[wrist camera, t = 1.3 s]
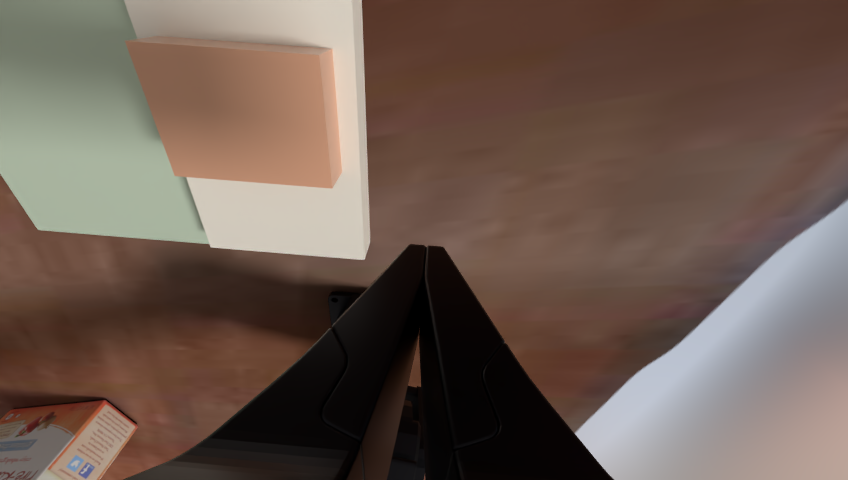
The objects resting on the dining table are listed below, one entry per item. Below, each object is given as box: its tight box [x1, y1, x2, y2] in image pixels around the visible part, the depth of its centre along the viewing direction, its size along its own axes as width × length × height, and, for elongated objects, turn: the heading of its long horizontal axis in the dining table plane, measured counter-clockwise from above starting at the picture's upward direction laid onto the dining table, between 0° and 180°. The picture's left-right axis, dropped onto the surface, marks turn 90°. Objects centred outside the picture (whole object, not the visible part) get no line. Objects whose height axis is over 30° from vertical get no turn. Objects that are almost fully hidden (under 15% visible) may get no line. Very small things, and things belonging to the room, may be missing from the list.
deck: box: [124, 0, 370, 260], centre depth 19 cm, size 18×10×2 cm, turn 177°
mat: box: [0, 0, 209, 244], centre depth 20 cm, size 20×13×1 cm, turn 177°
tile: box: [125, 36, 342, 189], centre depth 17 cm, size 6×8×2 cm
